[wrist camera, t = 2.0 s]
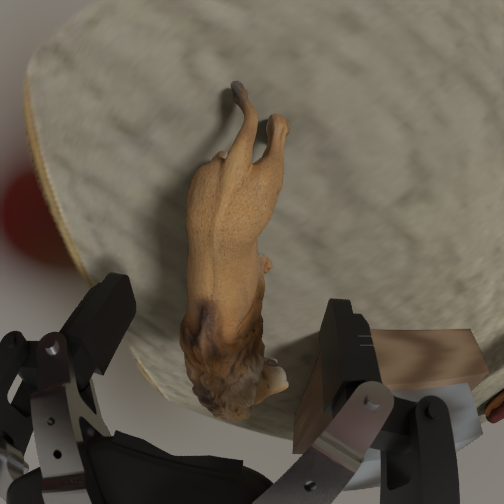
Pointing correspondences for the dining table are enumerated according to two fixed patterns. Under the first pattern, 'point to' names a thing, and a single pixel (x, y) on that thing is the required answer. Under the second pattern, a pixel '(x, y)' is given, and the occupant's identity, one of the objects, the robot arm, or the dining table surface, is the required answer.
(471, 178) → the dining table surface
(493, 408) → the donut
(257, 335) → the lion figurine
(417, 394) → the two-tone block
